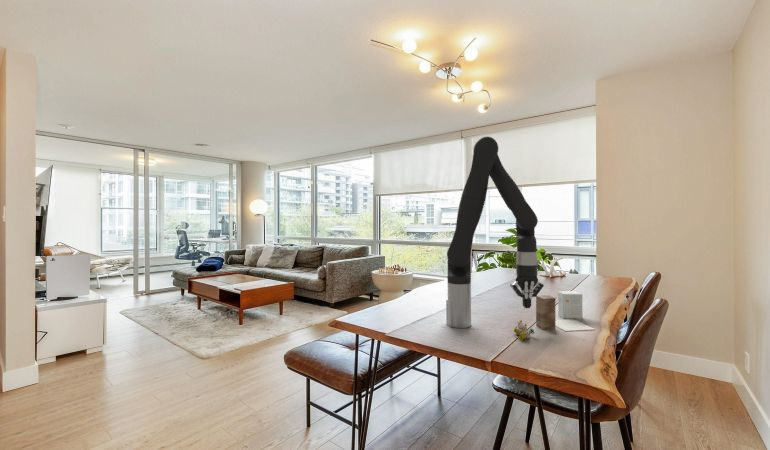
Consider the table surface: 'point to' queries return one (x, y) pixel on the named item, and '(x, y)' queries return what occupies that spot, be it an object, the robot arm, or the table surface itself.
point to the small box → (570, 304)
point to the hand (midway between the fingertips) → (527, 307)
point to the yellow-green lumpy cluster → (522, 331)
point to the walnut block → (545, 312)
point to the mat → (571, 325)
